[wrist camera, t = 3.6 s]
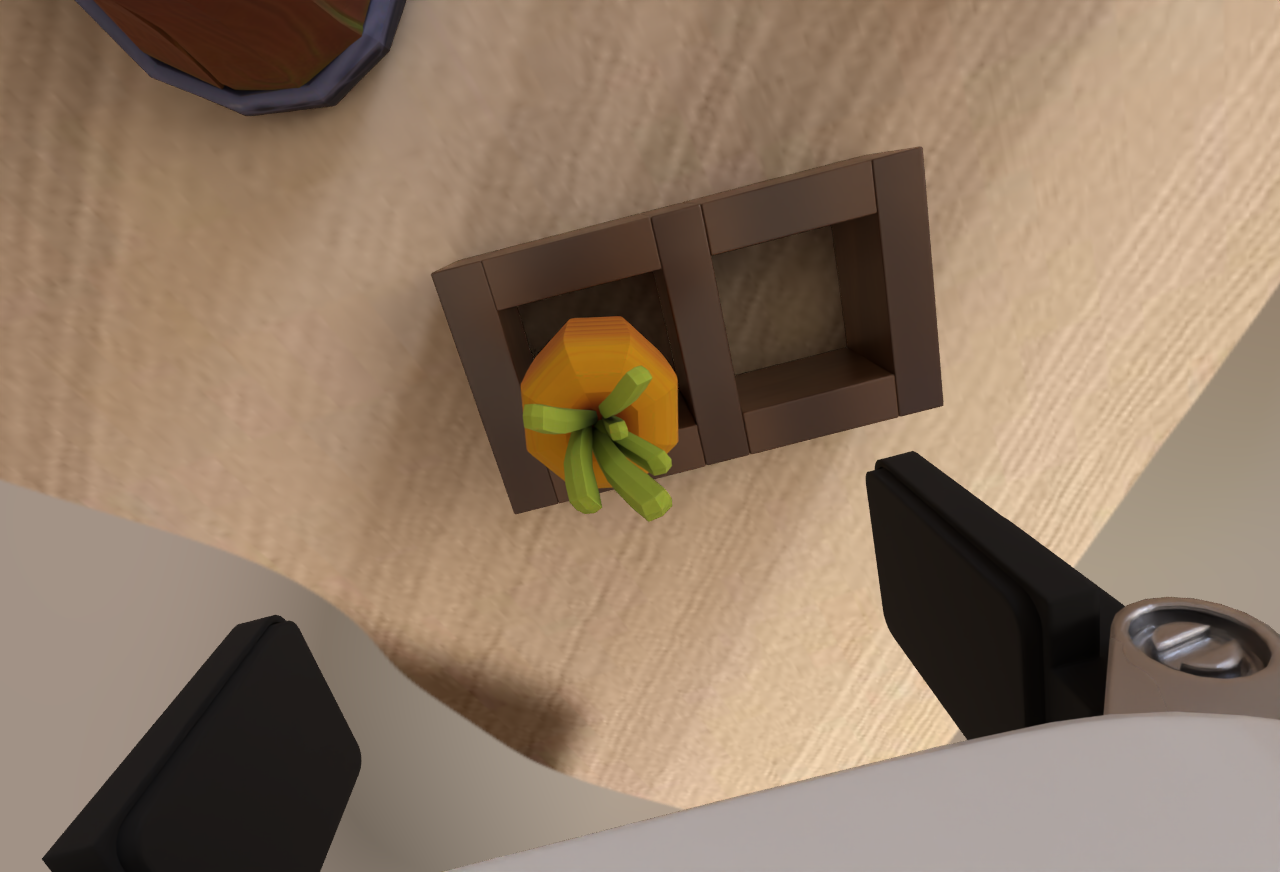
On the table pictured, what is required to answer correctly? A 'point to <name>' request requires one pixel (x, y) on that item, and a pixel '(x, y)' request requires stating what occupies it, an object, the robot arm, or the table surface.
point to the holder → (683, 270)
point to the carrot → (603, 413)
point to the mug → (254, 46)
